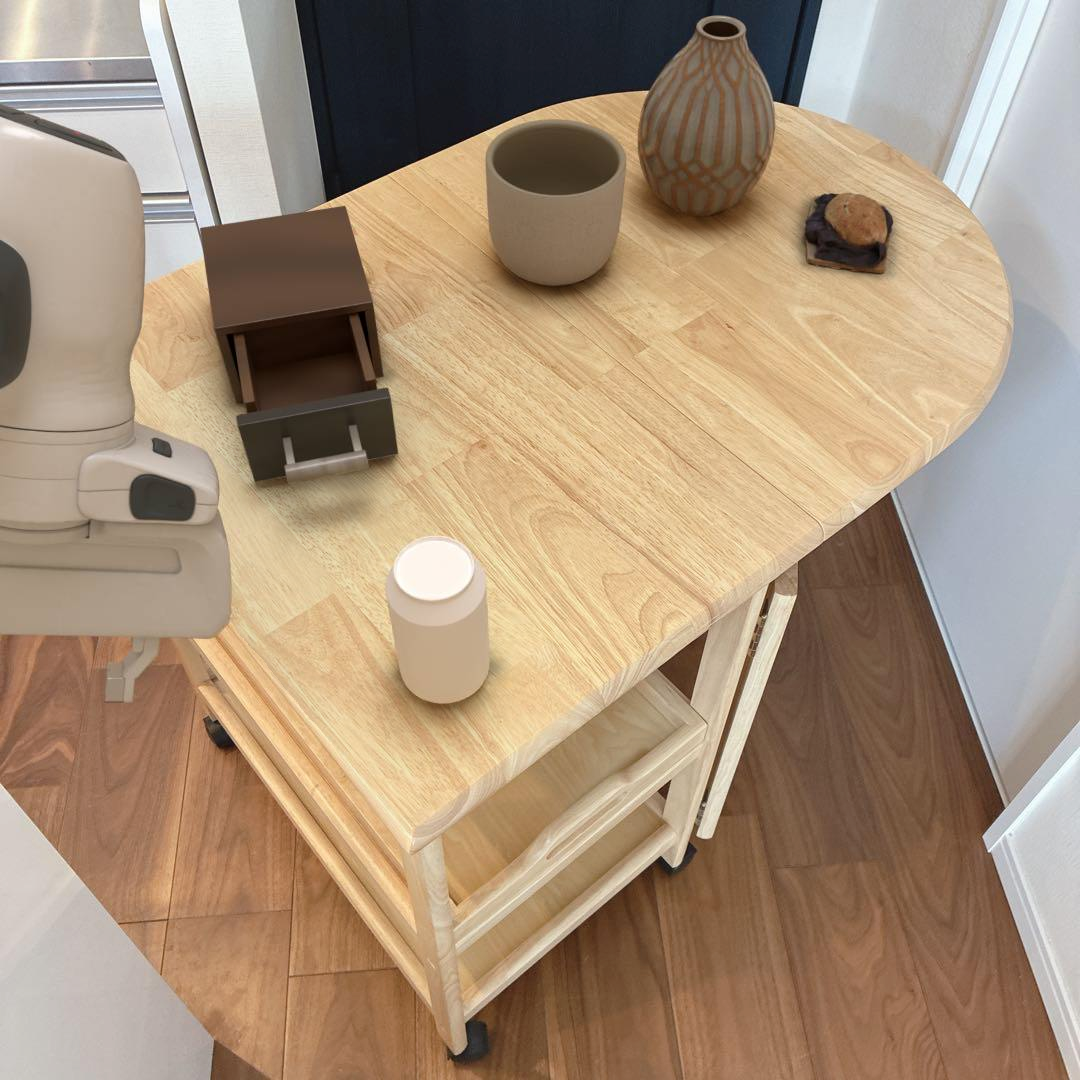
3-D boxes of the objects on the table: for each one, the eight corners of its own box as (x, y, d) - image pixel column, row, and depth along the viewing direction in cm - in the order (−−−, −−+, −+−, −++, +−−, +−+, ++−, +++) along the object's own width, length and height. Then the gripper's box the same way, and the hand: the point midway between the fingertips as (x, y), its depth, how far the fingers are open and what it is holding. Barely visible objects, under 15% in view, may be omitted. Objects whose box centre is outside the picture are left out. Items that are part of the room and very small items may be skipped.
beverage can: (448, 617, 76) (437, 510, 66) (509, 669, 73) (506, 566, 64) (382, 670, 73) (360, 567, 64) (443, 727, 70) (430, 627, 61)
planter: (642, 276, 100) (653, 173, 91) (526, 316, 96) (526, 213, 88) (577, 207, 107) (582, 105, 98) (466, 242, 103) (461, 139, 94)
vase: (625, 162, 112) (640, -7, 98) (748, 159, 112) (779, -9, 99) (639, 238, 104) (657, 65, 90) (771, 234, 104) (809, 62, 91)
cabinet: (383, 376, 91) (373, 301, 85) (235, 403, 89) (213, 328, 83) (356, 279, 99) (345, 205, 93) (220, 302, 97) (199, 227, 91)
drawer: (409, 493, 82) (401, 436, 77) (260, 523, 80) (243, 467, 75) (370, 352, 92) (362, 294, 87) (238, 375, 90) (221, 317, 85)
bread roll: (807, 201, 108) (814, 168, 105) (891, 212, 107) (901, 180, 104) (799, 263, 102) (807, 231, 99) (888, 276, 100) (899, 244, 98)
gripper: (-234, 461, 46) (-221, 732, 51) (250, 497, 54) (221, 727, 59) (-198, 417, 51) (-189, 666, 56) (238, 455, 59) (212, 669, 64)
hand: (25, 697), depth 57 cm, fingers open, 8 cm apart
